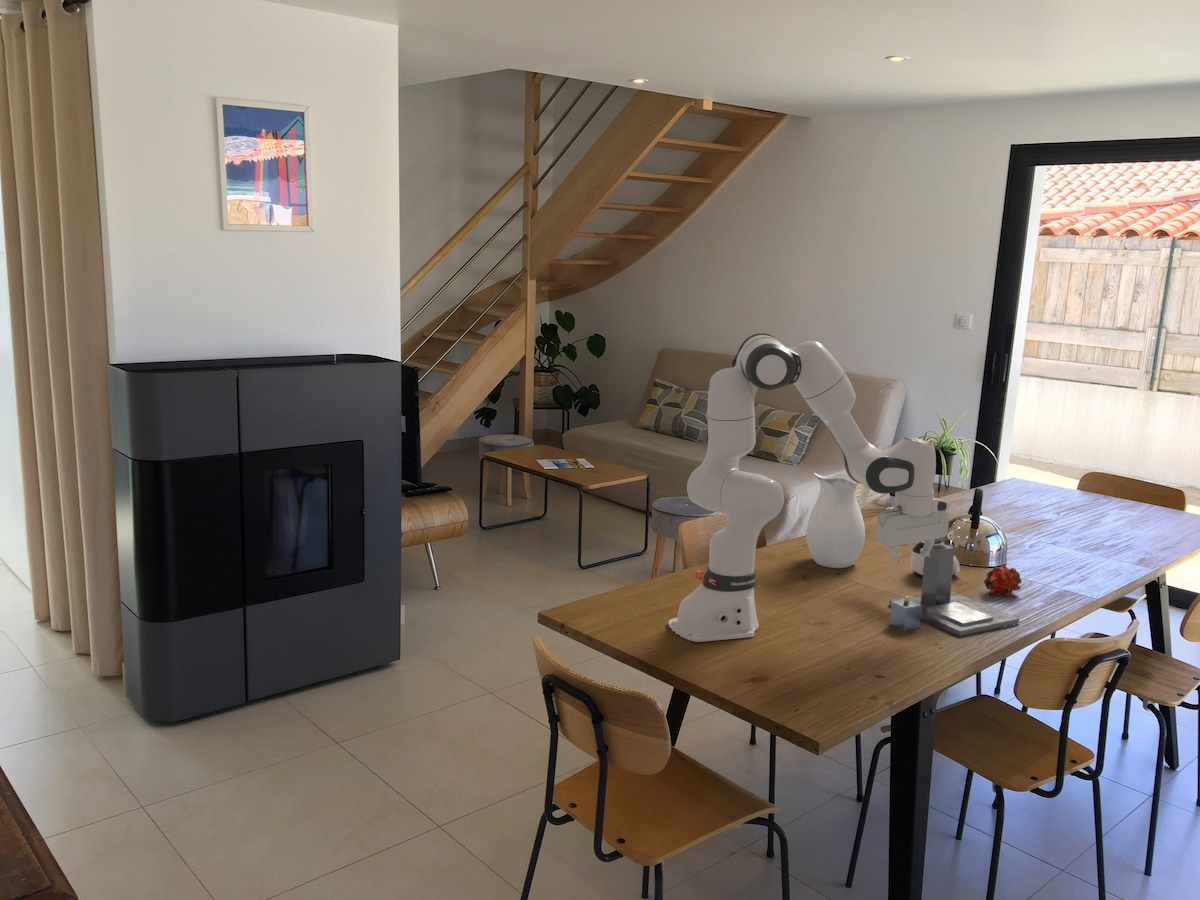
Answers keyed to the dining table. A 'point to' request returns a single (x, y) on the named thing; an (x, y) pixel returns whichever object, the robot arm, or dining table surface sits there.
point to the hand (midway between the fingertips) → (910, 559)
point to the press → (953, 599)
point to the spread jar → (918, 561)
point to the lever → (937, 541)
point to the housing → (905, 614)
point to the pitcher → (837, 522)
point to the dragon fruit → (1002, 580)
